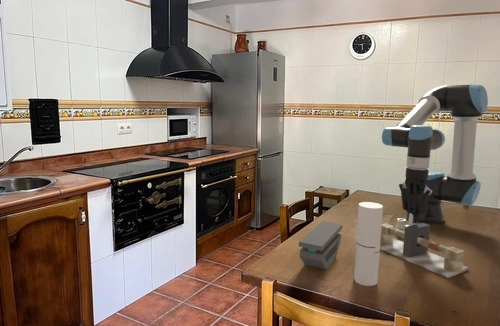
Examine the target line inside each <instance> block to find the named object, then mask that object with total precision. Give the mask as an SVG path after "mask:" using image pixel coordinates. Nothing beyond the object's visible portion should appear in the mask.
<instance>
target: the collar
mask: <svg viewBox="0 0 500 326" xmlns="http://www.w3.org/2000/svg"><path fill="white" fill-rule="evenodd" d="M430 233H431V225H430V224H429V223H428V224H427V223H426V222H422V223H416V225H412V226H408V227H405V233H404V238H403V242H404V245H403V255H406V256H408V257H412V256H415V255H419V254H422V253H425V252H429V248H428V247H425V246H422V245H420V244H417V237H420V238H423V239H426V240H429V241H430Z"/></svg>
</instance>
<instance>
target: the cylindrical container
mask: <svg viewBox="0 0 500 326" xmlns="http://www.w3.org/2000/svg"><path fill="white" fill-rule="evenodd" d="M383 209H384V206H383V205H382V204H381V203H378V202H372V201H362V202H359V203H358V210H357V211H358V212H357V225H356V226H357V227H356V242H355V243H356V244H355V258H354V270H353V271H354V272H353V280H354V282H355V283H357V284H359V285H361V286H366V287H373V286H376V285H377V284H378V279H379V278H378V276H379V264H380V263H379V261H380V251H381V249H380V239H381V226H382V224H383V223H382V222H383V212H384V210H383Z"/></svg>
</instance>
